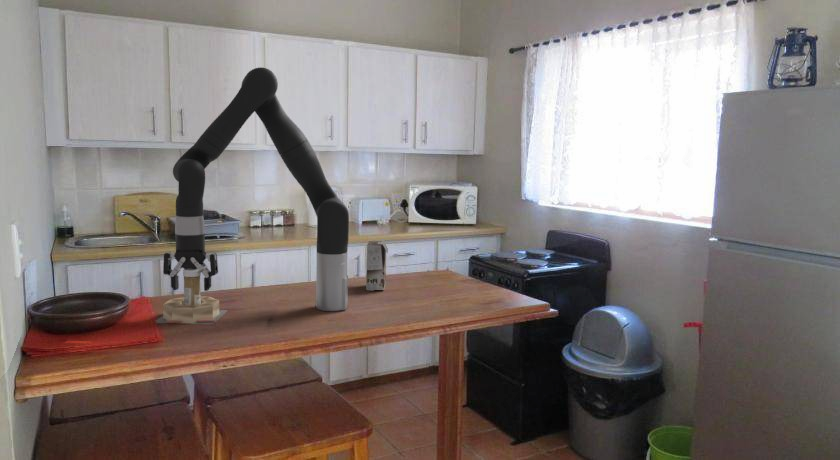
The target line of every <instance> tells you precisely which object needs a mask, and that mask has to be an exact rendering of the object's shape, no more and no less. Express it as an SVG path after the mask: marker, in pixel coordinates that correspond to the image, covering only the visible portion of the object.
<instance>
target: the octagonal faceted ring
mask: <svg viewBox="0 0 840 460" xmlns="http://www.w3.org/2000/svg"><path fill="white" fill-rule="evenodd" d="M219 310H220V300H219V299H216V298H214V297H211V296H202V295H201V304H198V305H184V296H183V297H177V298H171V299H169V300H167V301H165V303H163V304H162V316H163V318H164V319H166V320H180V321H183V322H181V323H198V322H196V321H197V320H198V319H214V318H215V317H217V316H218V315H219Z"/></svg>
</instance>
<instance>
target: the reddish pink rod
mask: <svg viewBox="0 0 840 460" xmlns="http://www.w3.org/2000/svg"><path fill="white" fill-rule="evenodd" d="M181 322H183V321H180V320H167V321H166V323H165V324H179V323H181ZM196 322H214V323H216V322H215V319H198V320H197V321H196Z"/></svg>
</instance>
